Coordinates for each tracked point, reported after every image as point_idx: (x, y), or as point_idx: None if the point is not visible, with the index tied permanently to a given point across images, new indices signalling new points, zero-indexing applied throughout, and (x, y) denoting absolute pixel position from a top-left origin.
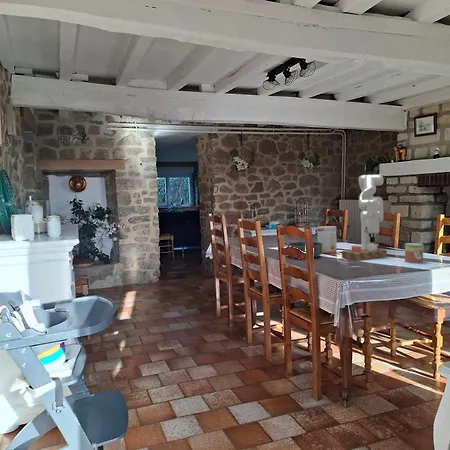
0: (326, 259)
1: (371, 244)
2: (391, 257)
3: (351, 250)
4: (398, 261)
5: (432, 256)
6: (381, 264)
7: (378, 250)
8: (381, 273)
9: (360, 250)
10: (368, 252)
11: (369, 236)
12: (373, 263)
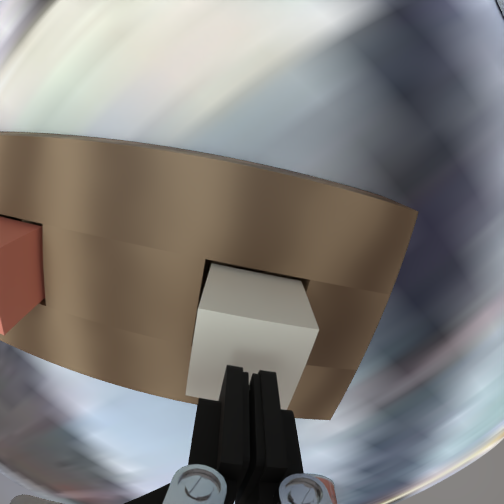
0: None
1: (250, 353)
2: None
3: (18, 158)
4: None
5: (478, 440)
6: (84, 445)
7: None
8: (13, 467)
9: (29, 306)
10: (85, 374)
11: (165, 487)
12: (60, 413)
